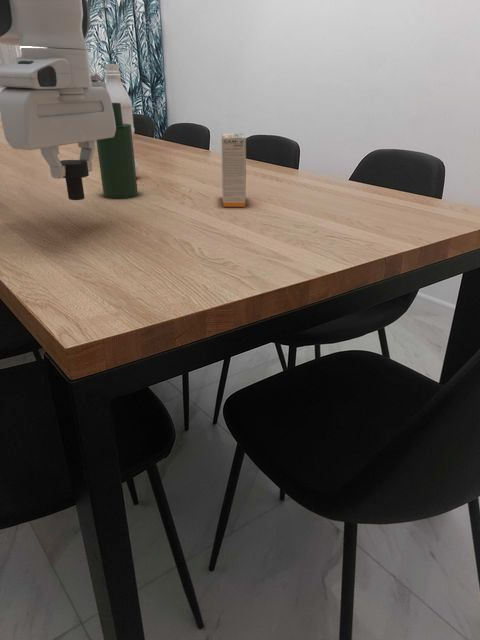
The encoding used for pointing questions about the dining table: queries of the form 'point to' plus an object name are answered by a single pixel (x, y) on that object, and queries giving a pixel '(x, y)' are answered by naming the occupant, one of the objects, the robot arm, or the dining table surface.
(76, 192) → the stopper
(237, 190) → the supplement box
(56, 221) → the dining table surface
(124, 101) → the water bottle
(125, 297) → the dining table surface
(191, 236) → the dining table surface
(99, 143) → the glass bottle
